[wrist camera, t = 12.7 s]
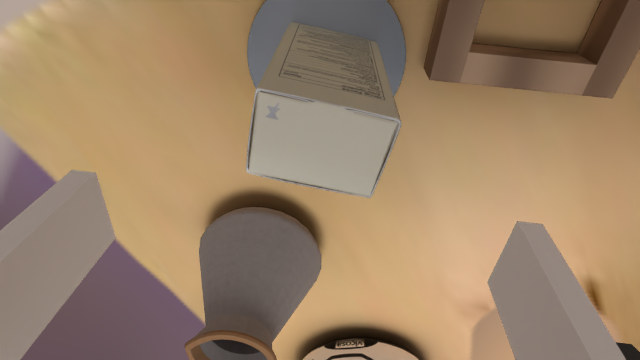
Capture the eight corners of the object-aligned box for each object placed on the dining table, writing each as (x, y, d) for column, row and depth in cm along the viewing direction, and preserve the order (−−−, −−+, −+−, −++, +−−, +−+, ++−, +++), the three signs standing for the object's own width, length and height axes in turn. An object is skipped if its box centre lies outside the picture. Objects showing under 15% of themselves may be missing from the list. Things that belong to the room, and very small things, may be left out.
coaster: (420, -21, 24) (422, -19, 23) (388, 134, 30) (389, 140, 29) (248, -37, 24) (244, -36, 23) (252, 119, 30) (249, 125, 29)
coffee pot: (225, 173, 34) (151, 320, 21) (342, 218, 35) (337, 376, 23) (180, 307, 45) (114, 453, 33) (270, 335, 47) (240, 483, 35)
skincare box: (279, 81, 27) (236, 174, 17) (289, 18, 25) (246, 84, 15) (365, 101, 28) (372, 204, 18) (384, 42, 25) (404, 122, 15)
